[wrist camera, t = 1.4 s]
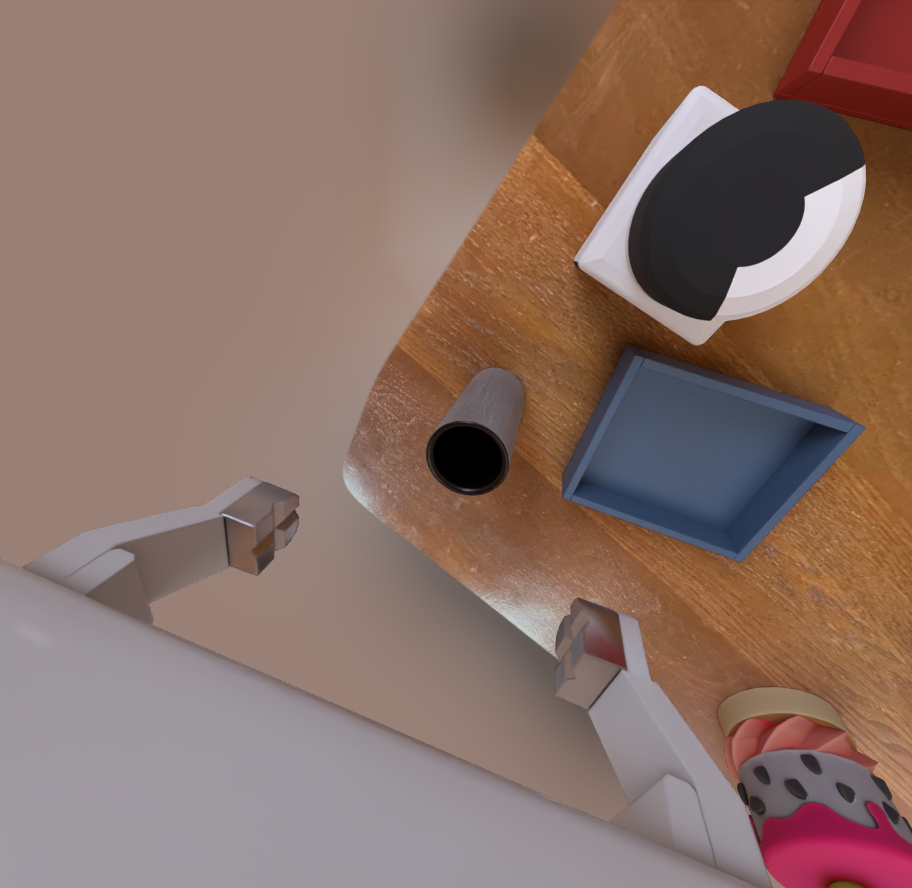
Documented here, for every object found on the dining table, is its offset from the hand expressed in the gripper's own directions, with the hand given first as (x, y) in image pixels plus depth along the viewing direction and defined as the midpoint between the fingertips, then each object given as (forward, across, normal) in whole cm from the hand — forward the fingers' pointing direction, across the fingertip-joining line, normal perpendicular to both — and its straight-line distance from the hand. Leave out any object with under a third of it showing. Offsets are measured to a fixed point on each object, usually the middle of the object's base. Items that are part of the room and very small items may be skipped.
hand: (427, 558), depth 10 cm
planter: (+20, +1, +2) cm, 20 cm away
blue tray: (+20, -13, +2) cm, 24 cm away
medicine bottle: (+20, -6, -10) cm, 23 cm away
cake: (+20, -35, +25) cm, 47 cm away
